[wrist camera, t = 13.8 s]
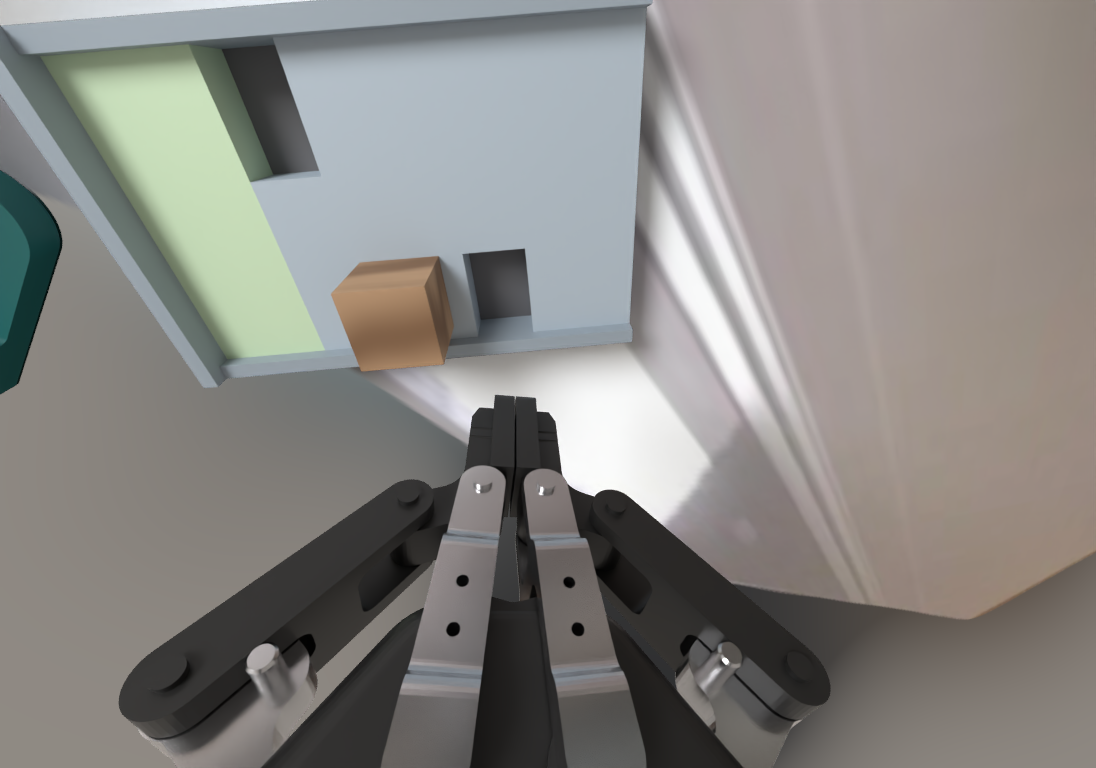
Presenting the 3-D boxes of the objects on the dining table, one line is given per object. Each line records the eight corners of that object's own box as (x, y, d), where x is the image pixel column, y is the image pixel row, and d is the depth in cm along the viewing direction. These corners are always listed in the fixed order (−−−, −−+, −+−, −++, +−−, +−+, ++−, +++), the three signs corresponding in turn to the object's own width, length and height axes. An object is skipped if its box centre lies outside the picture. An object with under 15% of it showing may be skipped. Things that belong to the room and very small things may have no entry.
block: (359, 262, 26) (330, 294, 22) (438, 255, 26) (424, 286, 22) (383, 332, 29) (361, 371, 25) (454, 326, 29) (443, 364, 25)
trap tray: (59, 37, 21) (-48, 24, 17) (633, -9, 22) (660, -32, 18) (243, 350, 32) (203, 388, 28) (620, 317, 33) (635, 348, 29)
